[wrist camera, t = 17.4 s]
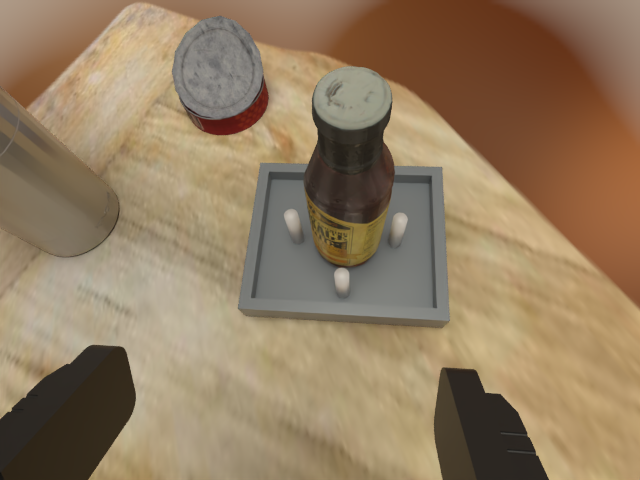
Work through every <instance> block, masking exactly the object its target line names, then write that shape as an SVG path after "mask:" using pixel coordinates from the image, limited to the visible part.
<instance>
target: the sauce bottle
mask: <svg viewBox="0 0 640 480" xmlns="http://www.w3.org/2000/svg"><path fill="white" fill-rule="evenodd" d="M391 109H392V93H391V90H390V87H389V85H388V83H387V82H386V81H385V80H384V79H383V78H382V77H381V76H380V75H379V74H378V73H376V72H374V71H372V70H370V69H367V68H364V67H350V66H349V67H343V68H339V69H336V70H334V71H331V72H329V73H328V74H327V75H325V76H324V77H323V78H322V79H321V80H320V81H319V82H318V84H317V85H316V88H315V90H314V93H313V97H312V116H313V120H314V123H315V125H316V127H317V128H318V141H317V145H316V147H315V150H314V152H313V154H312V157H311V159H310V162H309V164H308V166H307V169H306V171H305V173H304V179H303V181H304V191H305V196H306V200H307V208H308V213H309V219H310V224H311V229H312V235H313V240H314V243H315V246H316V248H317V250H318V252H319V253H320V255H321V256H322V257H323V258H324V259H326V260H327V261H328V262H330V263H331V264H333V265H335V266H337V267H340V268H341V267H346V268H347V267H354V266H359V265H362V264H364V263H365V262H366V261H367V260H369V258H371V256H372V255H373V254H374V253H375V252H376V250H377V248H378V246H379V243H380V239H381V235H382V232H383V227H384V223H385V219H386V215H387V212H388V207H389V204H390V200H391V195H392V187H393V182H394V175H395V169H394V168H395V167H394V162H393V159H392V155H391V153H390V151H389V149H388V147H387V146H386V144H385V143H384V142H383V133H384V130H385V128H386V126H387V124H388V122H389V120H390V115H391Z"/></svg>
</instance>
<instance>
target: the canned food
mask: <svg viewBox="0 0 640 480" xmlns="http://www.w3.org/2000/svg"><path fill="white" fill-rule="evenodd" d="M172 74H173V79H174V84H175V90H176V92H177V93H178V95H179V98H180V101H181V103H182V105H183V107H184V108H185V110H186V111H187V113H188V115H189V117H190V119H191V120H192V122H193V123H194V124H195V125H196V126H197V127H198V128H199V129H201V130H202V131H204V132H207V133H209V134H214V135H230V134H235V133H238V132H241V131H244V130H246V129H247V128H249V127H251V126H252V125H254V124H255V123H256V122H257V121H258V120H259V119H260V118H261V117H262V115H263V114H264V112H265V110H266V108H267V105H268V99H269V98H268V91H267V88H266V84H265V80H264V76H263V67H262V62H261V57H260V51H259V50H258V48H257V46H256V45H255V43H254V41H253V39H252V37H251V36H250V34H249V33H248V32H247V31H246V30H244V29H243V28H242V27H241V26H240V25H239V24H238V23H237V22H236V21H234V20H231V19H227V18H225V17H222V16H217V17H212V18H208V19H204V20H201V21H200V22H199V23H197V24H196V25H195V26H194V27H193V28H191V29H190V30H189V31H188V32H186V33H185V35H184V37H183V39H182V41H181V43H180V44H179V46H178V48H177V49H176V51H175V57H174V64H173V69H172Z"/></svg>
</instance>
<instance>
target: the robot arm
mask: <svg viewBox="0 0 640 480" xmlns="http://www.w3.org/2000/svg"><path fill="white" fill-rule="evenodd" d="M118 211H119V205H118V200H117V196H116V194H115V193H114V191H113V190H112V189H111V188H110V187H109V186H108V185H107V184H106V183H105V182H104V181H102V180H101V179H100V178H99V177H98V176H97V175H96V174H95V173H94V172H93V171H92V170H91V169H90V168H89V167H88V166H87V165H85V164H84V163H83V162H82V161H81V160H80V159H79V158H78V157H77V156H76V155H75V154H74V153H72V152H71V151H70V150H69V149H68V148H67V147H66V146H65V145H64V144H63V143H62V142H61V141H59V140H58V139H57V138H56V137H55V136H54V135H53V134H52V133H51V132H50V131H49V130H47V129H46V128H45V127H44V126H43V125H42V124H41V123H40V122H39V121H38V120H37V119H36V118H34V117H33V116H32V115H31V114H30V113H29V112H28V111H27V110H26V109H25V108H24V107H22V106H21V105H20V104H19V103H18V102H17V101H16V100H15V99H14V98H13V97H12V96H11V95H9V94H8V93H7V92H6V91H5V90H4V89H3V88H1V86H0V228H1V229H3V230H5V231H7V232H9V233H11V234H13V235H15V236H17V237H19V238H20V239H22V240H24V241H26V242H28V243H30V244H32V245H34V246H36V247H38V248H40V249H42V250H44V251H46V252H47V253H49V254H52V255H55V256H61V257H69V256H76V255H79V254H82V253H85V252H87V251H89V250H91V249H93V248H94V247H96V246H97V245H98V244H100V243H101V242H102V241H103V240H104V239H105V238H106V237H107V236H108V235H109V233H110V232H111V230H112V229H113V227H114V225H115V222H116V220H117V217H118ZM135 401H136V393H135V388H134V384H133V379H132V375H131V370H130V366H129V362H128V357H127V353H126V351H125V349H124V348H123V347H119V346H103V345H91V346H89V347H87V348H86V349H85V350H84V351H83V352H82V353H81V354H80V355H79V356H78V357H77V358H76V359H75V360H74V361H73V362H72V363H71V364H66V365H64V366H63V367H61V368H59V369H58V370H56V371H54V372H53V373H51V374H50V375H48V376H46V377H45V378H43V379H42V380H41V381H40V382H39V383H38V384H37V385H36V386H35V387H34V388H33V389H32V390H31V391H30V392H29V393H28V394H27V396H26V398H22V399H21V400H20V401H19V402H18V403H17V404H16V405H15V406H14V407H13V408H12V411H11V412H8V413H6V414H5V415H4V416H3V417H2V418H1V419H0V480H88V479H89V477H90V476H91V475H92V473H93V472H94V470H95V469H96V467H97V466H98V464H99V463H100V461H101V460H102V458H103V457H104V455H105V454H106V452H107V451H108V450H109V448H110V447H111V445H112V444H113V442H114V441H115V439H116V438H117V436H118V435H119V433H120V432H121V430H122V429H123V427H124V426H125V425H126V423H127V422H128V420H129V419H130V417H131V415H132V412H133V410H134V406H135ZM434 434H435V443H436V448H437V453H438V458H439V463H440V468H441V473H442V478H443V480H549V479H548V477H547V475H546V472H545V470H544V468H543V466H542V464H541V462H540V459H539V457H538V456H536V451H535V449H534V446H533V444H532V442H531V440H530V438H529V437H528V436H527V431H526V429H525V427H524V425H523V423H522V420H521V418H520V416H519V414H518V412H517V411H516V410H515V409H514V408H513V407H512V406H511V405H510V404H509V403H508V402H507V401H506V400H505V399H504V397H503V396H502V395H501V394H492V393H485V391H484V389H483V386H482V383H481V381H480V378H479V376H478V373H477V372H476V370H474V369H460V368H442V369H441V373H440V379H439V386H438V394H437V401H436V408H435V416H434Z"/></svg>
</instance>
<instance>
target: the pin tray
mask: <svg viewBox="0 0 640 480" xmlns="http://www.w3.org/2000/svg"><path fill="white" fill-rule="evenodd" d="M307 166H308V164H289V163H260V169H259V176H258V182H257V189H256V195H255V202H254V208H253V214H252V221H251V227H250V234H249V240H248V247H247V253H246V259H245V266H244V272H243V279H242V285H241V292H240V298H239V304H238V309H239V310H240V311H241V312H242V313H243V314H245V315H246V316H256V317H272V318H289V319H305V320H322V321H338V322H355V323H372V324H388V325H405V326H421V327H438V328H442V327H444V326H445V325H446V324H447V323H448V322H449V321H450V316H449V296H448V276H447V256H446V236H445V216H444V196H443V176H442V167H421V166H394V167H395V168H394V169H395V175H394V182H393V187H392V195H391V200H390V204H389V207H388V212H387V215H386V219H385V223H384V227H383V232H382V235H381V239H380V243H379V246H378V248H377V250H376V252H375V253H374V254H373V255H372V256H371V258H369V260H367V261H366V262H365V263H364V264H362V265H359V266H354V267H347V268H346V267H341V268H340V267H337V266H335V265H333V264H331V263H330V262H328V261H327V260H326V259H324V258H323V257H322V256H321V255H320V253H319V252H318V250H317V248H316V246H315V243H314V240H313V235H312V229H311V224H310V219H309V213H308V208H307V200H306V196H305V191H304V181H303V179H304V173H305V171H306V169H307Z"/></svg>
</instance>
